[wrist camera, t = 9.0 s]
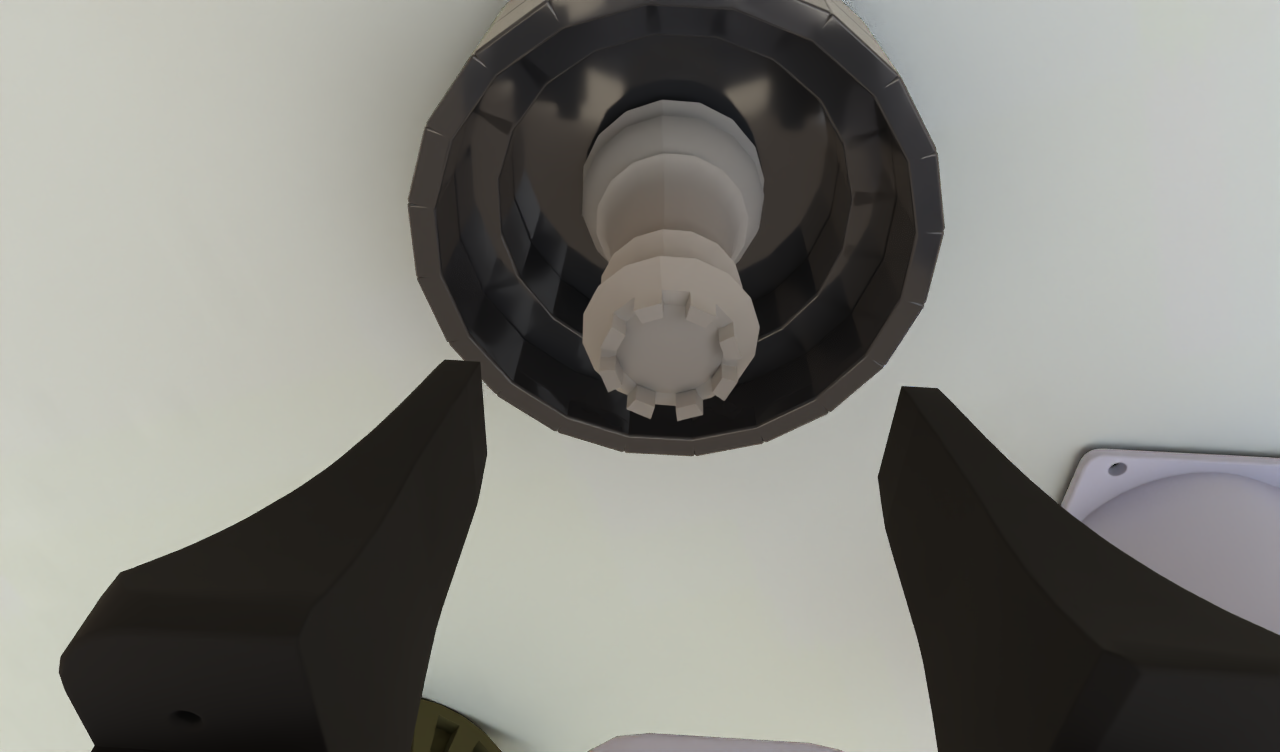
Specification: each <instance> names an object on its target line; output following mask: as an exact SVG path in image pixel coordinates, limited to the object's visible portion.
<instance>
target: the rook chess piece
mask: <svg viewBox="0 0 1280 752" xmlns="http://www.w3.org/2000/svg"><path fill="white" fill-rule="evenodd" d="M763 186H764V177H763V173H762V169H761V166H760V162H759V158H758V155H757V151H756V147H755V146H754V145H753V144H752V142H751V141H750V140H749V139H748V137H747V136H746V135H745V134H744V133H743V131H742V130H741V129H740V128H739V127H738V125H737V124H736V123H735V122H734V120H733V119H731V118H729V117H727V116H725V115H723V114H721V113H719V112H717V111H715V110H713V109H711V108H709V107H707V106H705V105H703V104H701V103H698V102H685V101H672V100H660V101H656V102H653V103H650V104H647V105H644V106H641V107H638V108H635V109H632V110H629V111H626V112H625V113H624V114H622V115H621V116H620V117H619V118H618V119H617V120H615V121H614V122H613V123H612V124H611V125H610V126H609V127H607V128H606V129H605V130H604V131H603V132H602V133H600V134H599V135H598V137H597V139H596V142H595V144H594V146H593V148H592V150H591V152H590V154H589V156H588V158H587V160H586V162H585V164H584V169H583V204H582V216H583V218H584V220H585V223H586V225H587V228H588V230H589V233H590V235H591V238H592V240H593V243H594V245H595V247H596V249H597V251H598V252H599V253H600V254H601V255H602V256H603V257H604V258H605V259H606V260H607V261H608V262H609V263H608V265H607V267H606V269H605V271H604V273H603V274H602V276H601V284H600V285H599V286H598V288H597V289H596V291H595V293H594V295H593V297H592V299H591V301H590V302H589V304H588V306H587V308H586V310H585V312H584V314H583V345H584V347H585V350H586V352H587V354H588V356H589V359H590V361H591V363H592V365H593V368H594V370H595V371H596V372H597V373H598V374H600V375H601V377H602V379H603V382H604V384H605V386H606V388H607V391H608V392H610V391H613V390H615V389H616V390H617V391H619V392H621V393H624V394H626V395H628V396H627V410H630V411H632V412H635V413H637V414H639V415H642V416H644V417H647V418H649V419H651V417H652V414H653V411H654V408H655V404H658V405H671V406H676V415H677V421H680V420H684V419H688V418H692V417H696V416H700V415H703V400H704V399H708V398H712V397H713V396H715V395H716V396H718V397H719V398H721V399H722V400H724V401H725V400H726V398H727V397H728V395H729V394H730V392H731V391H732V390H733V388H734V387H735V385H736V384H737V382H738V379H739V378H740V376H741V375H742V373H743V372H744V371H745V369H746V368H747V366H748V365H749V363H750V362H751V361H752V359H753V358H754V356H755V352H756V346H757V340H758V334H759V328H760V326H759V323H758V320H757V316H756V313H755V310H754V307H753V303H752V300H751V297H750V296H749V295H748V294H747V293H746V292H745V291H744V290H743V289H742V284H741V281H740V277H739V274H738V271H737V268H736V263H737V262H739V261H740V259H741V257H742V256H743V254H744V253H745V251H746V249H747V248H748V246H749V245H750V243H751V242H752V240H753V238H754V237H755V235H756V234H757V232H758V230H759V226H760V220H761V213H762V207H763V201H764V192H763Z"/></svg>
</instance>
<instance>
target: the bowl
mask: <svg viewBox="0 0 1280 752" xmlns="http://www.w3.org/2000/svg"><path fill="white" fill-rule="evenodd" d="M660 100H672V101H685V102H698V103H701V104H703V105H705V106H707V107H709V108H711V109H713V110H715V111H717V112H719V113H721V114H723V115H725V116H727V117H729V118H731V119H733V120H734V122H735V123H736V124H737V125H738V127H739V128H740V129H741V130H742V131H743V133H744V134H745V135H746V136H747V137H748V139H749V140H750V141H751V142H752V144H753V145H754V146H755V147H756V151H757V155H758V158H759V162H760V166H761V169H762V173H763V177H764V186H763V192H764V201H763V207H762V213H761V220H760V226H759V230H758V232H757V234H756V235H755V237H754V238H753V240H752V242H751V243H750V245H749V246H748V248H747V249H746V251H745V253H744V254H743V256H742V257H741V259H740V261H739V262H737V263H736V268H737V271H738V274H739V277H740V281H741V284H742V289H743V290H744V291H745V292H746V293H747V294H748V295H749V296H750V297H751V300H752V303H753V307H754V310H755V313H756V316H757V320H758V323H759V326H760V328H759V334H758V340H757V346H756V352H755V356H754V358H753V359H752V361H751V362H750V363H749V365H748V366H747V368H746V369H745V371H744V372H743V373H742V375H741V376H740V378H739V379H738V382H737V384H736V385H735V387H734V388H733V390H732V391H731V392H730V394H729V395H728V397H727V398H726V400H725V401H724V400H722V399H721V398H719V397H718V396H716V395H715V396H713V397H712V398H708V399H704V400H703V415H700V416H696V417H692V418H688V419H684V420H680V421H677V415H676V406H671V405H658V404H655V408H654V411H653V414H652V417H651V419H649V418H647V417H644V416H642V415H639V414H637V413H635V412H632V411H630V410H627V396H628V395H626V394H624V393H621V392H619V391H617V390H616V389H615V390H613V391H610V392H608V391H607V388H606V386H605V384H604V382H603V379H602V377H601V375H600V374H598V373H597V372H596V371H595V370H594V368H593V365H592V363H591V361H590V359H589V356H588V354H587V352H586V350H585V347H584V345H583V314H584V312H585V310H586V308H587V306H588V304H589V302H590V301H591V299H592V297H593V295H594V293H595V291H596V289H597V288H598V286H599V285H600V284H601V276H602V274H603V273H604V271H605V269H606V267H607V265H608V263H609V262H608V261H607V260H606V259H605V258H604V257H603V256H602V255H601V254H600V253H599V252H598V251H597V249H596V247H595V245H594V243H593V240H592V238H591V235H590V233H589V230H588V228H587V225H586V223H585V220H584V218H583V216H582V204H583V169H584V164H585V162H586V160H587V158H588V156H589V154H590V152H591V150H592V148H593V146H594V144H595V142H596V139H597V137H598V135H599V134H600V133H602V132H603V131H604V130H605V129H606V128H607V127H609V126H610V125H611V124H612V123H613V122H614V121H615V120H617V119H618V118H619V117H620V116H621V115H622V114H624V113H625V112H626V111H629V110H632V109H635V108H638V107H641V106H644V105H647V104H650V103H653V102H656V101H660ZM408 202H409V203H408V213H409V221H410V229H411V237H412V245H413V254H414V262H415V270H416V275H417V280H418V282H419V284H420V286H421V288H422V291H423V293H424V295H425V297H426V299H427V301H428V303H429V305H430V307H431V309H432V311H433V313H434V315H435V318H436V320H437V322H438V324H439V326H440V328H441V330H442V332H443V334H444V336H445V338H446V340H447V342H449V344H450V346H451V347H452V348H453V349H454V350H455V351H456V352H457V353H458V354H459V355H460V356H461V358H462V359H463V360H464V361H477V362H480V365H481V378H482V380H483V381H484V382H485V383H486V384H487V386H488V387H489V388H490V389H491V390H492V391H493V392H494V393H495V394H497V396H498V397H500V398H501V399H503V400H505V401H506V402H508V403H510V404H511V405H513V406H514V407H516V408H518V409H519V410H521V411H523V412H524V413H526V414H528V415H529V416H531V417H532V418H534V419H536V420H537V421H539V422H541V423H542V424H544V425H545V426H547V427H549V428H550V429H552V430H554V431H558V432H559V433H561V434H565V435H568V436H571V437H574V438H578V439H581V440H584V441H588V442H591V443H594V444H597V445H601V446H604V447H607V448H611V449H614V450H617V451H620V452H623V451H625V452H626V453H641V454H659V455H678V456H694V454H695V455H696V456H699V455H705V454H710V453H715V452H721V451H726V450H731V449H736V448H742V447H747V446H752V445H758V444H762V443H763V442H768V441H770V440H772V439H775V438H777V437H779V436H781V435H783V434H785V433H787V432H790V431H792V430H794V429H796V428H798V427H800V426H803V425H805V424H807V423H809V422H811V421H813V420H815V419H818V418H820V417H822V416H824V415H826V414H828V411H829V412H831V411H832V410H834V409H835V408H836V407H837V406H838V405H840V404H841V403H842V402H843V401H844V400H845V399H847V398H848V397H849V396H850V395H851V394H853V393H854V392H855V391H856V390H857V389H858V388H860V387H861V386H862V385H863V384H864V383H866V382H867V381H868V380H869V379H870V378H872V377H873V376H874V375H875V374H876V373H877V372H879V371H880V370H881V369H882V368H883V367H884V365H886V364H887V362H888V361H889V359H890V358H891V356H892V355H893V353H894V351H895V350H896V348H897V347H898V345H899V344H900V342H901V341H902V339H903V338H904V336H905V335H906V333H907V332H908V330H909V328H910V327H911V325H912V324H913V322H914V321H915V319H916V318H917V316H918V315H919V313H920V312H921V310H922V309H923V307H924V303H925V302H926V300H927V296H928V292H929V288H930V285H931V281H932V277H933V273H934V269H935V265H936V262H937V258H938V254H939V250H940V246H941V243H942V239H943V235H944V231H943V230H944V228H945V225H944V214H943V204H942V193H941V182H940V172H939V161H938V153H937V152H936V147H935V145H934V143H933V141H932V139H931V137H930V135H929V133H928V131H927V129H926V127H925V125H924V122H923V120H922V118H921V116H920V114H919V112H918V110H917V108H916V106H915V104H914V102H913V100H912V98H911V96H910V94H909V92H908V90H907V88H906V86H905V84H904V82H903V80H902V78H901V76H900V75H899V73H898V72H897V70H896V69H895V67H894V66H893V64H892V63H891V61H890V60H889V58H888V57H887V55H886V54H885V52H884V51H883V50H882V48H881V47H880V45H879V44H878V42H877V41H876V39H875V38H874V36H873V35H872V33H871V32H870V30H869V29H868V27H867V26H866V24H865V23H864V21H863V20H862V19H861V18H859V17H858V16H857V15H856V14H855V13H854V12H853V11H852V10H851V9H850V8H849V7H848V6H847V5H846V4H845V3H843V2H842V1H841V0H511V1H509V2H508V3H507V4H506V5H505V6H504V7H503V8H502V10H501V11H500V13H499V14H498V16H497V17H496V19H495V20H494V22H493V23H492V25H491V26H490V28H489V29H488V31H487V32H486V34H485V35H484V37H483V38H482V40H481V41H480V43H479V44H478V46H477V47H476V49H475V50H474V51H473V53H472V54H471V56H470V57H469V59H468V60H467V62H466V64H465V65H464V67H463V68H462V70H461V71H460V73H459V74H458V76H457V77H456V79H455V80H454V82H453V83H452V85H451V86H450V88H449V89H448V91H447V92H446V94H445V95H444V97H443V98H442V100H441V101H440V103H439V104H438V106H437V107H436V109H435V110H434V112H433V113H432V115H431V116H430V118H429V119H428V121H427V123H426V126H425V128H424V132H423V136H422V140H421V145H420V149H419V153H418V158H417V162H416V166H415V171H414V175H413V179H412V184H411V188H410V192H409V197H408Z"/></svg>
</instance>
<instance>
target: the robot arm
mask: <svg viewBox="0 0 1280 752" xmlns="http://www.w3.org/2000/svg"><path fill="white" fill-rule="evenodd" d="M486 457H487V445H486V431H485V418H484V405H483V391H482V378H481V365H480V362H477V361H460V360H444V361H443V362H442V363H441V364H439V365H438V366H437V367H436V368H435V369H434V370H433V371H432V372H431V373H430V374H429V375H428V376H427V378H426V379H425V380H424V381H423V382H422V383H421V384H420V385H419V386H418V387H417V388H416V389H415V390H414V391H413V392H412V393H411V394H410V395H409V396H408V397H407V398H406V399H405V400H404V401H403V402H402V403H401V404H400V405H399V406H398V407H397V408H396V409H395V410H394V411H393V412H392V413H390V414H389V415H388V416H387V417H386V418H385V419H384V420H383V421H382V422H381V423H380V424H379V425H378V426H377V427H376V428H375V429H373V430H372V431H371V432H370V433H369V434H368V435H367V436H365V437H364V438H363V439H362V440H361V441H360V442H358V443H357V444H356V445H355V446H354V447H352V448H351V449H350V450H349V451H348V452H347V453H345V454H344V455H343V456H342V457H341V458H339V459H338V460H337V461H335V462H334V463H333V464H332V465H330V466H329V467H328V468H326V469H325V470H324V471H322V472H321V473H319V474H318V475H316V476H315V477H313V478H312V479H311V480H309V481H308V482H306V483H305V484H303V485H302V486H300V487H299V488H297V489H296V490H294V491H293V492H291V493H289V494H287V495H286V496H284V497H282V498H281V499H279V500H277V501H275V502H274V503H272V504H270V505H269V506H267V507H265V508H263V509H262V510H260V511H258V512H257V513H255V514H253V515H252V516H250V517H248V518H246V519H244V520H242V521H240V522H238V523H236V524H234V525H232V526H230V527H228V528H226V529H224V530H222V531H220V532H218V533H216V534H214V535H212V536H210V537H207V538H205V539H203V540H201V541H199V542H197V543H194V544H192V545H190V546H187V547H185V548H183V549H181V550H178V551H175V552H173V553H170V554H168V555H165V556H163V557H160V558H157V559H155V560H152V561H150V562H147V563H145V564H142V565H139V566H137V567H134V568H131V569H129V570H126V571H123V572H120V573H119V575H118V576H117V577H116V579H115V580H114V581H113V582H112V584H111V585H110V586H109V587H108V589H107V590H106V591H105V592H104V594H103V595H102V596H101V598H100V599H99V601H98V602H97V604H96V605H95V607H94V608H93V610H92V611H91V613H90V614H89V616H88V617H87V618H86V620H85V621H84V623H83V624H82V626H81V627H80V629H79V630H78V632H77V633H76V635H75V636H74V638H73V639H72V641H71V642H70V644H69V645H68V647H67V648H66V649H65V651H64V652H63V654H62V655H61V658H60V666H59V674H60V677H61V680H62V683H63V686H64V689H65V691H66V693H67V695H68V697H69V699H70V701H71V703H72V704H73V706H74V708H75V710H76V712H77V714H78V715H79V717H80V719H81V721H82V723H83V725H84V727H85V728H86V730H87V732H88V734H89V736H90V738H91V739H92V741H93V743H94V745H95V746H94V748H93V749H92V751H91V752H410V751H411V746H412V740H413V735H414V730H415V725H416V720H417V715H418V711H419V706H420V701H421V696H422V691H423V686H424V681H425V677H426V672H427V668H428V663H429V659H430V654H431V650H432V645H433V641H434V636H435V632H436V628H437V625H438V621H439V618H440V614H441V611H442V607H443V605H444V602H445V599H446V596H447V593H448V590H449V587H450V584H451V581H452V578H453V575H454V572H455V569H456V566H457V563H458V560H459V558H460V555H461V552H462V549H463V546H464V543H465V540H466V537H467V534H468V531H469V528H470V525H471V522H472V519H473V516H474V513H475V510H476V507H477V503H478V499H479V494H480V489H481V484H482V479H483V473H484V468H485V463H486ZM1116 463H1119V464H1118V465H1117V466H1115V467H1111V466H1112V465H1114V464H1116ZM878 481H879V489H880V497H881V504H882V511H883V517H884V524H885V529H886V533H887V536H888V540H889V543H890V547H891V550H892V554H893V557H894V561H895V564H896V568H897V571H898V574H899V578H900V581H901V585H902V588H903V591H904V595H905V598H906V601H907V605H908V608H909V612H910V615H911V618H912V622H913V625H914V628H915V632H916V635H917V639H918V643H919V647H920V651H921V655H922V659H923V664H924V670H925V675H926V681H927V687H928V692H929V698H930V704H931V709H932V715H933V722H934V728H935V735H936V741H937V748H938V752H1280V458H1270V457H1252V456H1233V455H1214V454H1196V453H1177V452H1158V451H1139V450H1121V449H1094V450H1092V451H1089V452H1088V453H1086V454H1085V455H1084V456H1083V457H1082V458H1081V460H1080V462H1079V464H1078V467H1077V469H1076V471H1075V474H1074V476H1073V478H1072V481H1071V483H1070V485H1069V487H1068V490H1067V492H1066V494H1065V497H1064V499H1063V501H1062V504H1061V506H1060V505H1059V504H1058V503H1056V502H1055V501H1054V500H1053V499H1052V498H1051V497H1049V496H1048V495H1047V494H1046V493H1045V492H1044V491H1042V490H1041V489H1040V488H1039V487H1038V486H1037V485H1036V484H1034V483H1033V482H1032V481H1031V480H1030V479H1029V478H1028V477H1027V476H1025V475H1024V474H1023V473H1022V472H1021V471H1020V470H1019V469H1018V468H1017V467H1016V466H1015V465H1014V464H1013V463H1011V462H1010V461H1009V460H1008V459H1007V458H1006V457H1005V456H1004V455H1003V454H1002V453H1001V452H1000V451H999V450H998V449H997V448H996V447H995V446H994V445H993V444H992V443H991V442H990V441H989V440H988V439H987V438H986V437H985V436H984V435H983V434H982V433H981V432H980V431H979V430H978V429H977V428H976V427H975V426H974V425H973V424H972V423H971V422H970V421H969V419H968V418H967V417H966V416H965V415H964V414H963V413H962V412H961V411H960V410H959V409H958V408H957V407H956V406H955V405H954V404H953V403H952V402H951V401H950V400H949V399H948V398H947V397H946V396H945V395H944V394H943V393H942V392H941V391H940V390H939V389H938V388H924V387H907V386H902V387H901V391H900V394H899V398H898V402H897V406H896V410H895V414H894V417H893V421H892V425H891V429H890V433H889V436H888V440H887V444H886V448H885V452H884V455H883V459H882V463H881V467H880V471H879V474H878ZM588 752H844V751H842V750H838V749H834V748H829V747H825V746H821V745H816V744H812V743H800V742H784V741H768V740H752V739H736V738H720V737H703V736H687V735H671V734H655V733H646V734H636V735H625V736H616V737H614V738H612V739H610V740H608V741H606V742H604V743H602V744H600V745H599V746H597V747H595V748H593V749H591V750H589V751H588Z"/></svg>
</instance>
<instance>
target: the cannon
mask: <svg viewBox="0 0 1280 752" xmlns="http://www.w3.org/2000/svg"><path fill="white" fill-rule="evenodd" d="M410 752H502V751H501V750H500V749H499V748H498V747H497V746H496V745H495V743H494V742H493V741H492V740H491V739H490V738H489V737H488V736H487V735H486V734H485V732H483V731H482V730H481V729H479V728H478V727H477V726H475V725H474V724H473V723H472V722H470V721H469V720H468V719H466V718H465V717H464V716H462V715H460V714H458V713H456V712H454V711H452V710H450V709H448V708H446V707H445V706H443V705H440V704H437V703H433V702H430V701H427V700H423V699H421V701H420V706H419V711H418V715H417V720H416V725H415V730H414V735H413V740H412V746H411V751H410Z"/></svg>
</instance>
